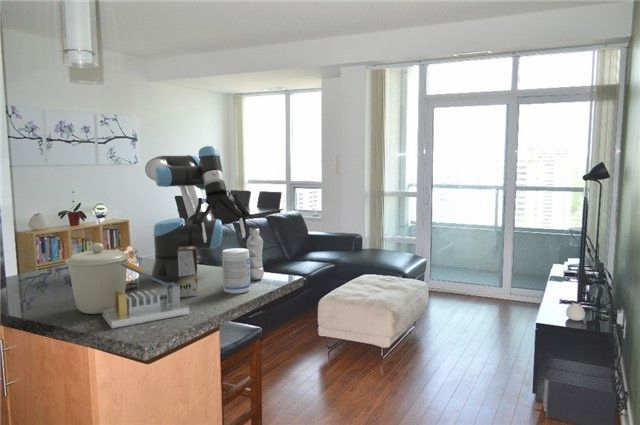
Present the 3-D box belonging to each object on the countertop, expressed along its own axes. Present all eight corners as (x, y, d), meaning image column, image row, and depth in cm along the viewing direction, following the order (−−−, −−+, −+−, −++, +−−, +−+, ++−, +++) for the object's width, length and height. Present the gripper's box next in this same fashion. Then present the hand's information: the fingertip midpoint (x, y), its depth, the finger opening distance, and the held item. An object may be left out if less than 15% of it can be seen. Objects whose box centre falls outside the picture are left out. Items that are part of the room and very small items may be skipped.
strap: (119, 266, 144) (123, 259, 144) (172, 289, 153) (175, 283, 154) (122, 268, 141) (126, 261, 142) (175, 291, 151) (178, 285, 151)
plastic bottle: (243, 280, 189) (242, 229, 187) (255, 276, 195) (253, 227, 193) (256, 282, 186) (254, 230, 184) (267, 278, 191) (266, 228, 189)
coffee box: (198, 296, 168) (196, 249, 166) (179, 297, 166) (177, 250, 165) (198, 289, 177) (196, 245, 175) (179, 290, 175) (178, 246, 173)
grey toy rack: (102, 315, 147) (100, 289, 146) (174, 303, 160) (173, 279, 159) (112, 328, 136) (110, 300, 135) (189, 313, 148) (188, 288, 147)
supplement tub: (254, 291, 173) (253, 250, 171) (229, 296, 167) (228, 253, 166) (243, 286, 181) (242, 246, 179) (219, 289, 176) (217, 249, 174)
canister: (141, 309, 153) (138, 242, 151) (80, 322, 141) (76, 250, 139) (118, 298, 166) (115, 236, 164) (60, 309, 154) (56, 243, 152)
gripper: (180, 183, 171) (189, 239, 164) (249, 177, 180) (261, 230, 173) (179, 193, 178) (188, 247, 170) (246, 186, 187) (257, 238, 179)
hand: (225, 238), depth 171 cm, fingers open, 13 cm apart
